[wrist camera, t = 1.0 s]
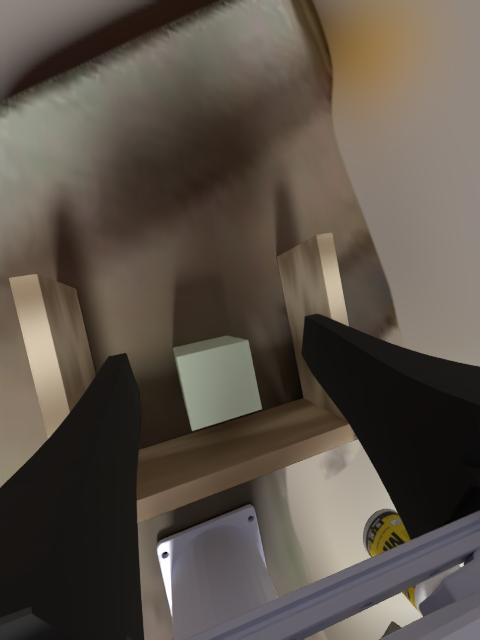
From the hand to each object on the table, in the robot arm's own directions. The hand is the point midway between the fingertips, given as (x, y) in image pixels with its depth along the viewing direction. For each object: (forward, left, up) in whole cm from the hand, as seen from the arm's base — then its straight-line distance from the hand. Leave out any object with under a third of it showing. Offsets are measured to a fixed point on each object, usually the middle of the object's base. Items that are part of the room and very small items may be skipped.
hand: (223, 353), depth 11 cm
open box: (-2, -1, -12) cm, 12 cm away
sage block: (-3, -1, -12) cm, 12 cm away
